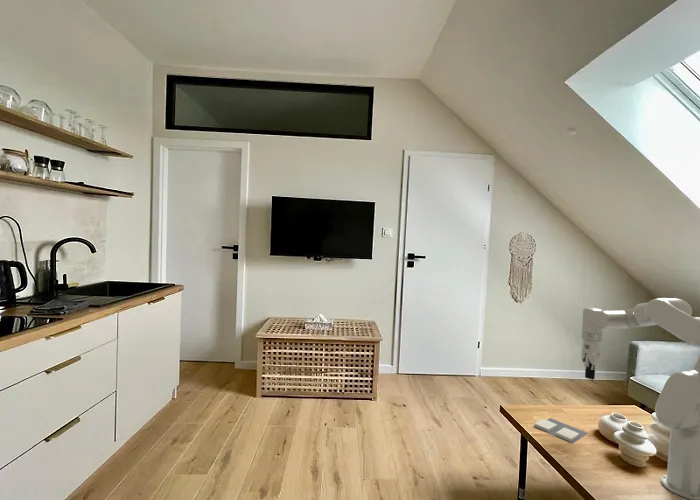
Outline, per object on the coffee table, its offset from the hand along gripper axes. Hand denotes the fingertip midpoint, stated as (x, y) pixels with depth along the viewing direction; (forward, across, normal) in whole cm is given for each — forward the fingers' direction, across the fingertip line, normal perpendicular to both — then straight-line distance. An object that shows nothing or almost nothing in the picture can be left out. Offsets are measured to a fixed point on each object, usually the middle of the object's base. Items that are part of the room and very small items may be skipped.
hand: (589, 378), depth 164 cm
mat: (+24, -9, +7) cm, 27 cm away
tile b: (+22, -8, +12) cm, 27 cm away
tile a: (+22, -8, +3) cm, 24 cm away
